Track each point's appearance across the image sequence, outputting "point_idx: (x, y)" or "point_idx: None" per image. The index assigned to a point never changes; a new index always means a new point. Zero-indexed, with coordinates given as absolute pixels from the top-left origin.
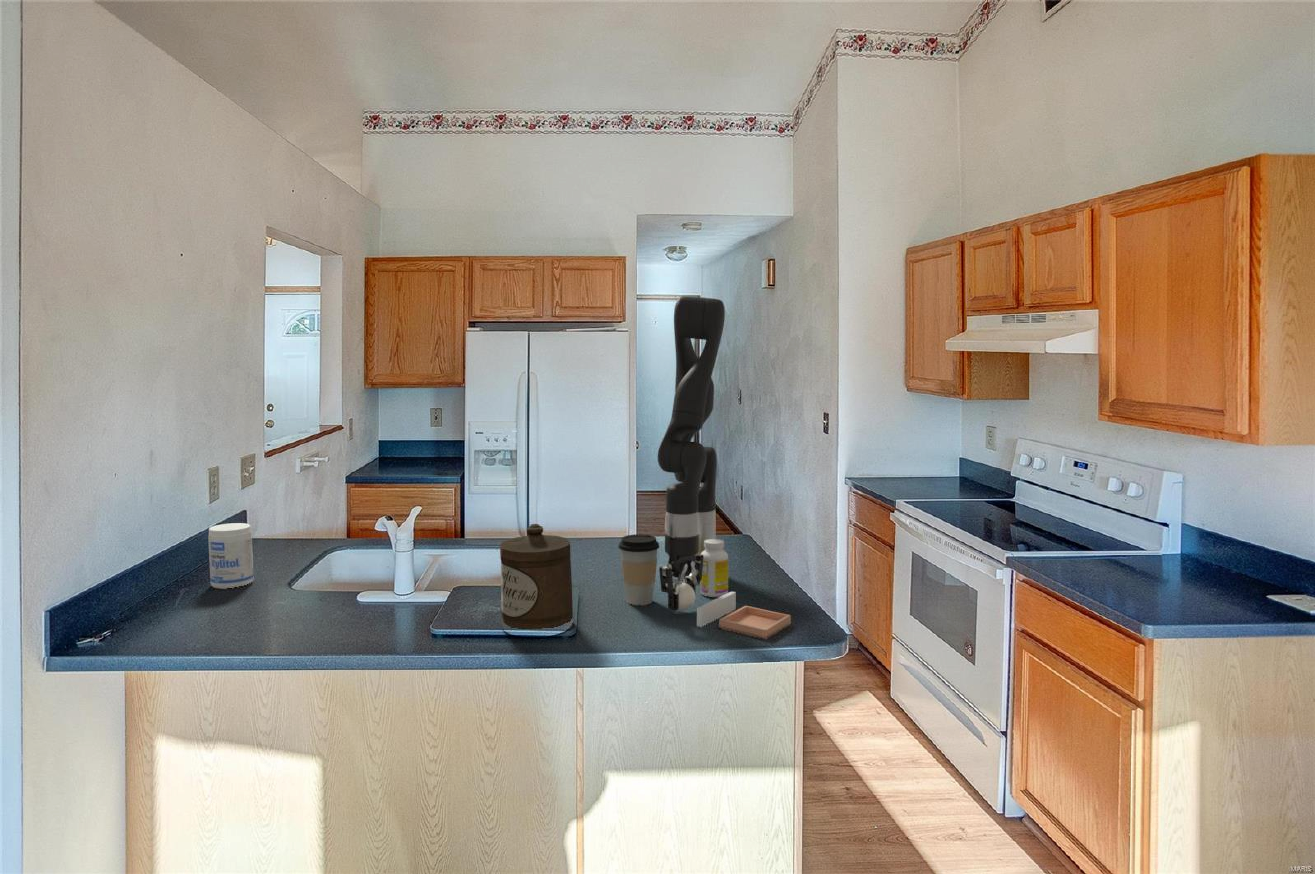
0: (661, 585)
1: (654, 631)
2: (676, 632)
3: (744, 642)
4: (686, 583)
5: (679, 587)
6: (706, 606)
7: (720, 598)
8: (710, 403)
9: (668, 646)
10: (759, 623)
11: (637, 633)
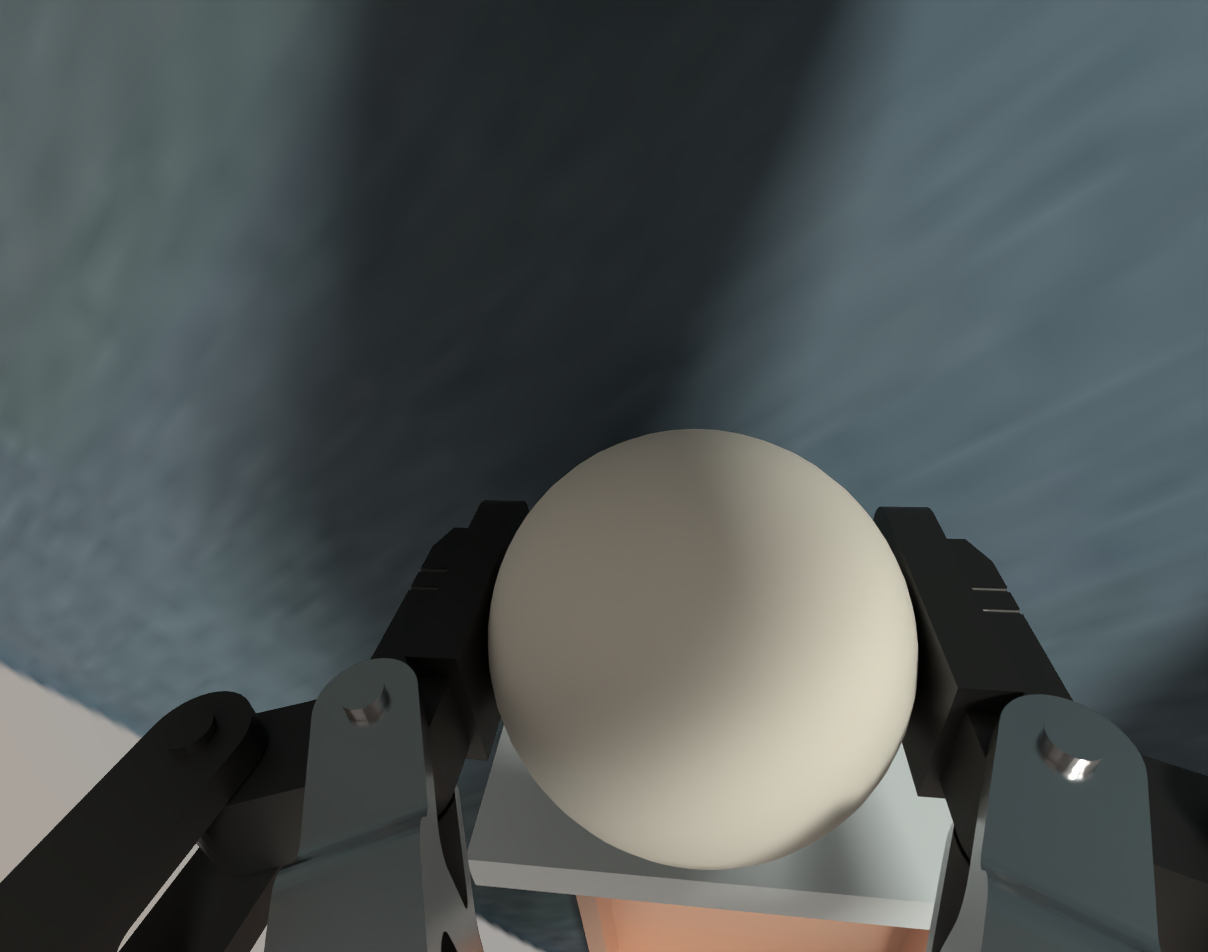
0: (69, 833)
1: (176, 545)
2: (313, 659)
3: (513, 906)
4: (1002, 720)
5: (566, 806)
6: (557, 892)
7: (850, 912)
8: None
9: (139, 716)
10: (772, 930)
11: (21, 472)
